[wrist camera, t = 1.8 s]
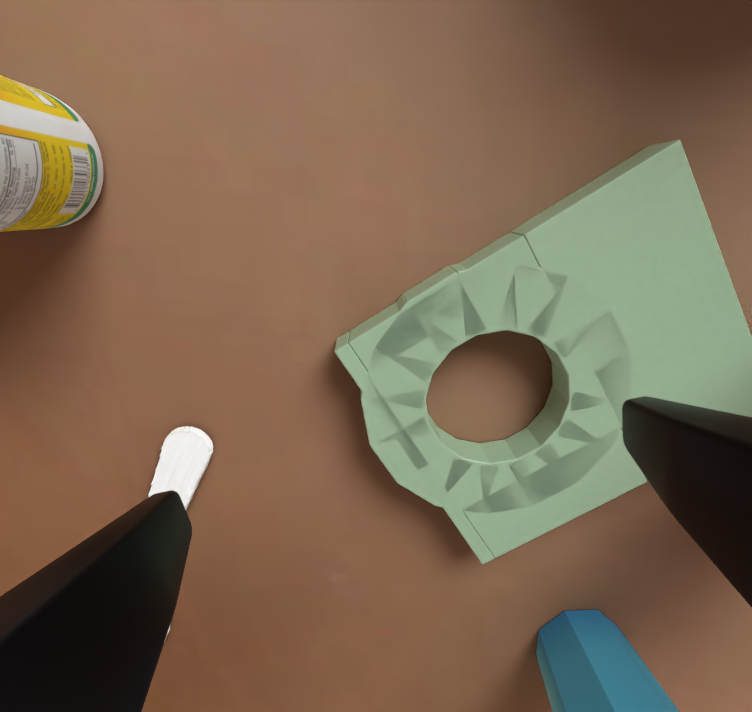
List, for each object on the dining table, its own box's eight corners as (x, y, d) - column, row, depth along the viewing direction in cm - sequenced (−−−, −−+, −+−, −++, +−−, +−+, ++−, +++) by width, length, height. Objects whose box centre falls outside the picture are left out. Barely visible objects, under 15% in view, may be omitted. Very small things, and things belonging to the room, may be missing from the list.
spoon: (247, 447, 23) (244, 452, 23) (148, 680, 28) (144, 689, 28) (143, 408, 23) (138, 413, 22) (60, 655, 28) (55, 664, 27)
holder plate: (648, 140, 19) (679, 134, 18) (747, 398, 24) (781, 415, 22) (313, 348, 22) (309, 362, 20) (455, 547, 26) (462, 575, 24)
